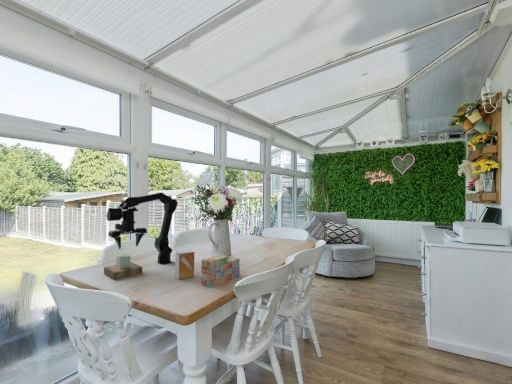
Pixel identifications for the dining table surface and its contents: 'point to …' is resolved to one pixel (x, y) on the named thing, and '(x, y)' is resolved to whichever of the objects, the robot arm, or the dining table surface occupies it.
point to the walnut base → (122, 271)
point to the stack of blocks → (219, 270)
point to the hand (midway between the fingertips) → (128, 247)
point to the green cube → (123, 261)
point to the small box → (184, 264)
